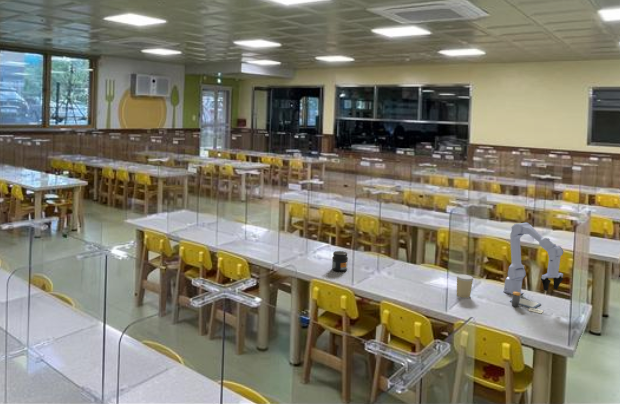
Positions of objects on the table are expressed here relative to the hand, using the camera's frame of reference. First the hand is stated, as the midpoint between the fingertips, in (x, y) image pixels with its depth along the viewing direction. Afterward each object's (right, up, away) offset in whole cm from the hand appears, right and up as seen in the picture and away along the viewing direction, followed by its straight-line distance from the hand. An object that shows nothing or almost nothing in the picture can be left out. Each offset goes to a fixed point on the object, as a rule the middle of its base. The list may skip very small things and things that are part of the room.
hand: (550, 289), depth 301 cm
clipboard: (-12, -9, +5) cm, 16 cm away
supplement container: (-118, +4, +54) cm, 130 cm away
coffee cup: (-46, -6, +14) cm, 49 cm away
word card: (-11, -11, -6) cm, 17 cm away
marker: (-20, -9, 0) cm, 22 cm away
